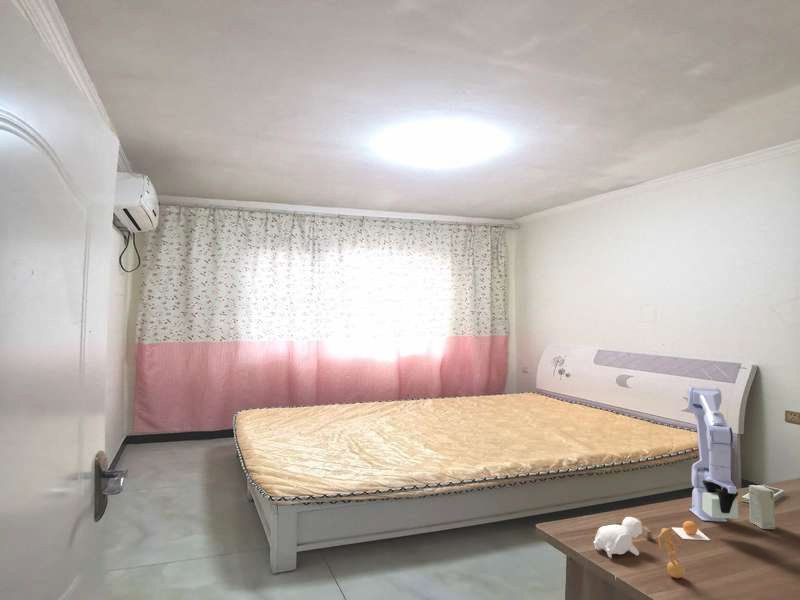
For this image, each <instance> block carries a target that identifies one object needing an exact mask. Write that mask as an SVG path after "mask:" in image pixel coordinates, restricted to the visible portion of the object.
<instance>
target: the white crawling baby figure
mask: <svg viewBox="0 0 800 600" xmlns="http://www.w3.org/2000/svg"><path fill="white" fill-rule="evenodd" d="M640 535H642V525H641V522H640V521H639V520H637V519H636V518H633V516H626V517H625V518H624V519H623V520H622V522H621V524H608V525H603V526H601V527H599V528H598V530H597V532H596V534H595V537H594V540H593V541H592V543H593V544H594V549H595V548H596V549H597V550H598V551H599V549H602V550H604V552H606V554H607V557H608V558H609V557H610V558H609V559H611V558H612V557H613V555H616V554H617V555H623V554H626V553H627V551H629V552H630V553H632V554H634V555H635V556H639V555H640V552H639V550H638V549H637V547H636V546H635V545H634V543H633V538H635V539H636V538H637V537H638V536H640ZM596 549H595V550H596ZM597 550H596V551H597Z"/></svg>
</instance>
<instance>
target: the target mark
mask: <svg viewBox="0 0 800 600" xmlns="http://www.w3.org/2000/svg"><path fill="white" fill-rule="evenodd" d="M670 529H671V530H673V531H674V533H675V534H677V535H678V536H679V537H680V538H681V539H682V540H694V541H695V540H696V541H711V539H710V538H709V537H708V536H706V535H705V534H704V533H703V532H702V531H701V530H699V529H698V530H697V533H696V534H694V535H690V534H687V533H686V532H685V531H684V529H683V527H670Z"/></svg>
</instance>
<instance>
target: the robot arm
mask: <svg viewBox="0 0 800 600" xmlns="http://www.w3.org/2000/svg"><path fill="white" fill-rule="evenodd" d="M686 393H687V395H686V396H687V406H688V411H690V412H691V413H693V414H694V418H695V421H696V431H697V443H698V444H697V445H698V453H699V460H697V461H696V462H694V463H692V465H691V475H690V476H691V479H690V480H691V485H692V487H693V489H692V493H691V497H692V499H691V506H692V507H691V508H689V511H691V512H692V513H693V514H694V515H695V516H697V517H698V518H699V519H700V520H702V521H705V522H706V521H708V522H724V523H726V522H728V520H727V518H712V517H711V516H709V515H708V514H707V513H706V512H704V511H703V510H702V492H707V493H717V494H718V497H719V501H720V509H721V512H722V513H730V510H731V507H732V504H733V501H734V500H735V498H736V499H737V497H738V496H739V492H738V491H737V486H735V484H734V483H733V481H732V480H731V478H732V476H731V475H732V474H731V473H732V471H731V469H732V468H731V467H732V466H731V465H732V464H731V463H732V461H731V457H732V456H731V455H732V450H731V447H733V445H734V431H733V428H732V427H731V426H730V425H728V424H727V422H726V419H725V417H724V414H723V413H722V412H720V411H719V410H720V407H721V404H722V399H723V398H722V391H721V389H720V388H718V387H699V386H691V385H690V386H689V387H688V388H687V392H686Z"/></svg>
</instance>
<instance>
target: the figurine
mask: <svg viewBox="0 0 800 600" xmlns="http://www.w3.org/2000/svg"><path fill="white" fill-rule="evenodd" d="M672 536H673V537H675V539H676V540H677V541H678V542H679V543H680V545H681V546H683V544H682V541H681V540H680V538H679V537H678V536H677V535H676V532H673V531H672V528H671V527H668V528H666V527H663V528H661V530H660V534H659V535H658V536H657V540H658V541H657V542H658V545H659V550H660V551H661V552H662V551H663V550H664V549H663V547H662V542H661V538H663V539H664V540H665V543H664V545H665V547H666V549H667V550H668V553H667V554H668V558H669V560H670V561H669V562H668V564H667V566H666V569H667V573H668V574H669V576H671V577H673V578H675V579H681V578H682V577H684V575H685V567H684V565H682V563H681V562H679V560H677V558H676V554H677V553H678V551H679V550H678V548H677V547H676V545H675V543H674V541H672ZM673 550H674V551H673ZM672 558H673V559H672Z"/></svg>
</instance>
